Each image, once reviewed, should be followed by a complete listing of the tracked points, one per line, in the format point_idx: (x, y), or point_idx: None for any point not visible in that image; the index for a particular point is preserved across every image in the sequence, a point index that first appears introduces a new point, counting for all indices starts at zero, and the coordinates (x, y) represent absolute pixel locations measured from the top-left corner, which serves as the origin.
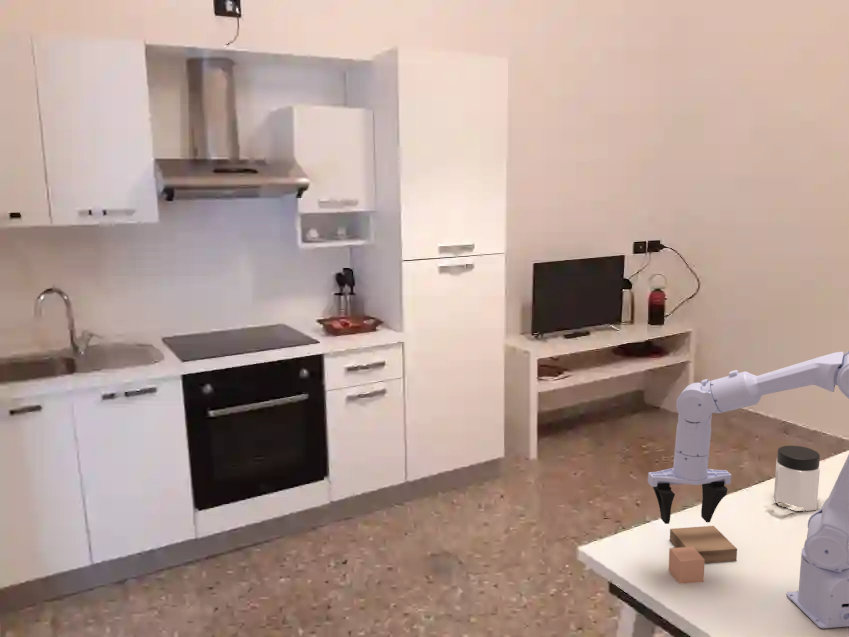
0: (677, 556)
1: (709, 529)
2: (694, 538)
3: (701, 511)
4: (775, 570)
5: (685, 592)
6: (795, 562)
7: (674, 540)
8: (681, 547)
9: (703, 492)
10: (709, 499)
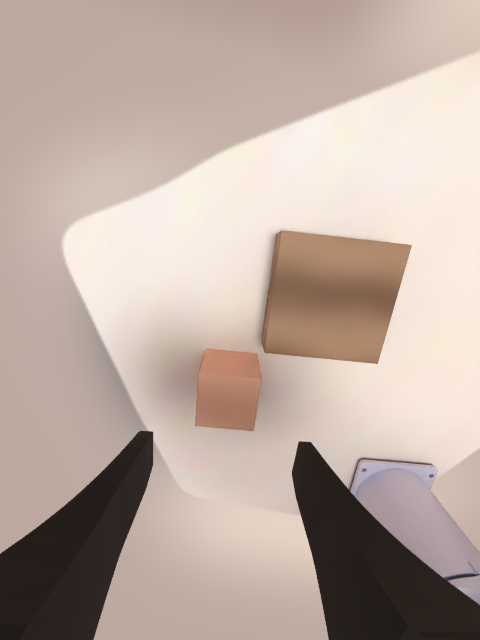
0: (199, 407)
1: (384, 263)
2: (313, 297)
3: (305, 455)
4: (407, 394)
5: None
6: (468, 380)
7: (274, 261)
8: (230, 376)
9: (348, 550)
10: (329, 588)
